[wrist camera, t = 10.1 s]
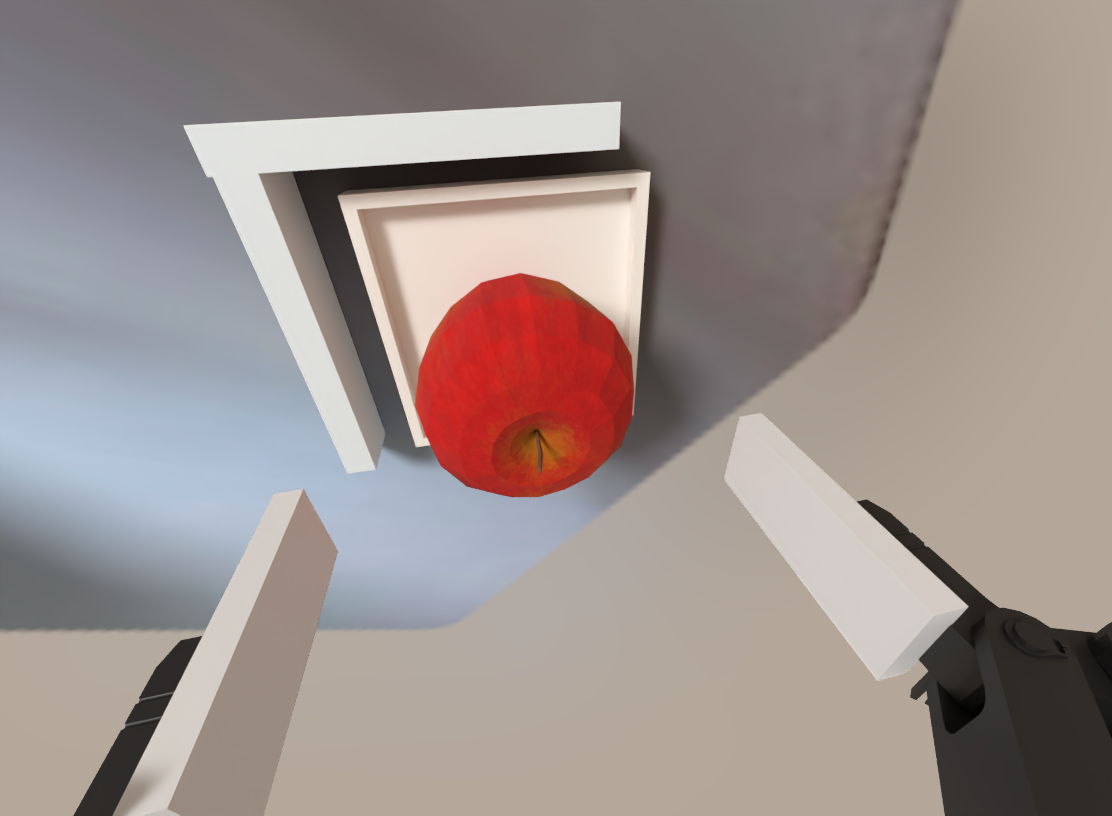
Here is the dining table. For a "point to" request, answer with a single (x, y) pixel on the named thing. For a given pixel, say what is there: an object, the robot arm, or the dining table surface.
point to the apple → (524, 387)
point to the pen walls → (289, 241)
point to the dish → (495, 252)
